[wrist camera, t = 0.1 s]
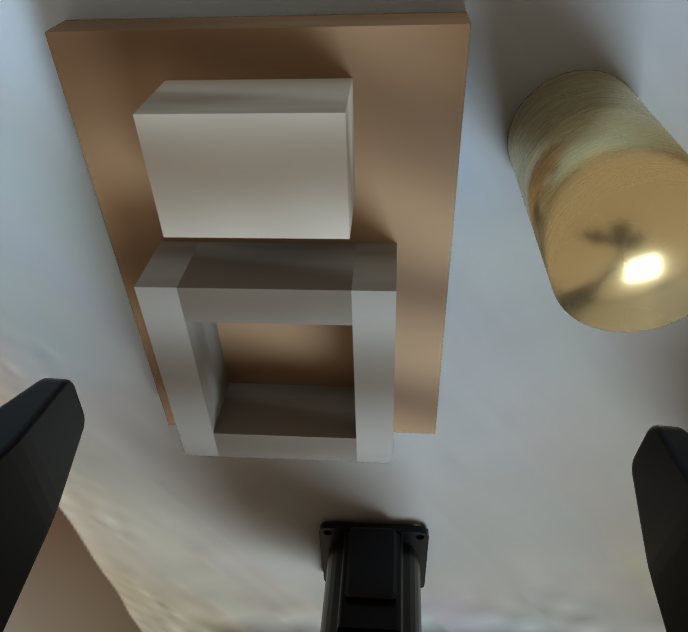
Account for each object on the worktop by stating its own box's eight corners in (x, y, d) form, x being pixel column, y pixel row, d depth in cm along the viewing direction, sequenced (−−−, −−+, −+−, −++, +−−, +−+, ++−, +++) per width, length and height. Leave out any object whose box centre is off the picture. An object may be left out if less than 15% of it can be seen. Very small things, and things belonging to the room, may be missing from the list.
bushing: (622, 193, 22) (708, 333, 16) (500, 193, 23) (537, 330, 16) (656, 69, 20) (775, 180, 13) (517, 70, 20) (568, 179, 14)
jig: (433, 410, 30) (437, 486, 27) (177, 402, 31) (148, 474, 28) (466, 12, 19) (480, 53, 15) (65, 20, 20) (-7, 60, 16)
